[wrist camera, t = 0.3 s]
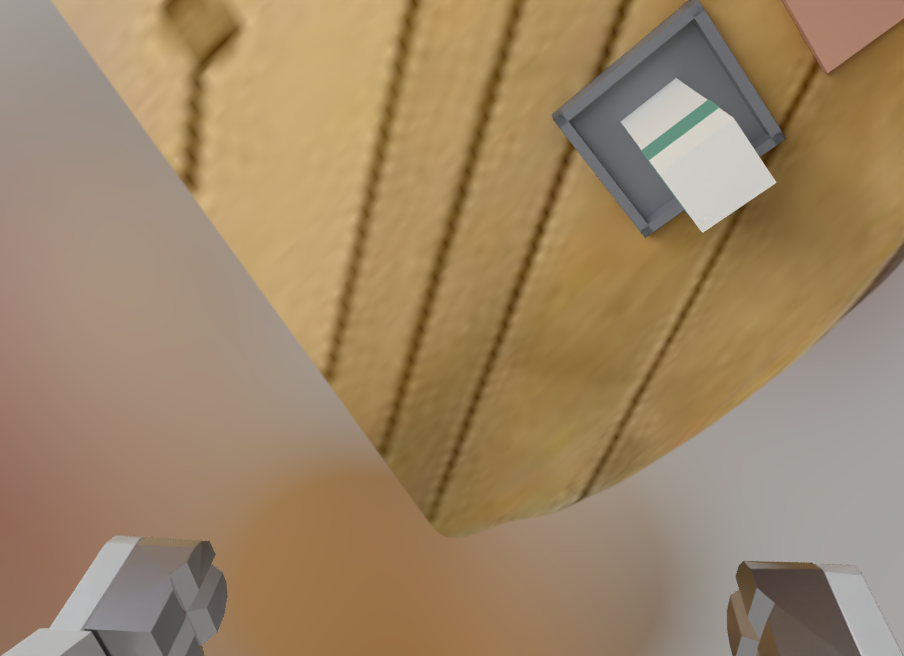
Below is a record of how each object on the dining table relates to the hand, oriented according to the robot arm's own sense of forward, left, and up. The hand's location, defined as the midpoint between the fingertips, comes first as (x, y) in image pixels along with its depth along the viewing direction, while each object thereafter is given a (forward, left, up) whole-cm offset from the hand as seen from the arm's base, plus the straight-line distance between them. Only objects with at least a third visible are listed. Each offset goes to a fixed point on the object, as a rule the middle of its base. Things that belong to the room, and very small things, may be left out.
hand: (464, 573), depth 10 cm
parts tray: (+5, +13, -47) cm, 49 cm away
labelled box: (+5, +13, -47) cm, 49 cm away
